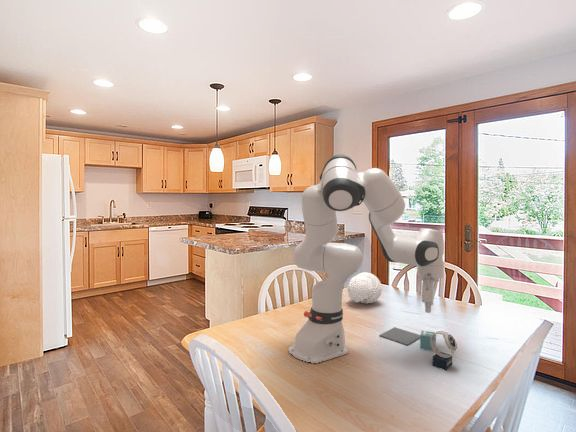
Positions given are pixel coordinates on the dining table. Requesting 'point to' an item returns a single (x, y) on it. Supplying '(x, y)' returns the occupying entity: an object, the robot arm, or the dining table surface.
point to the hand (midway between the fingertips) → (429, 308)
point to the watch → (443, 358)
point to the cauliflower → (364, 288)
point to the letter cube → (426, 339)
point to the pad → (400, 336)
